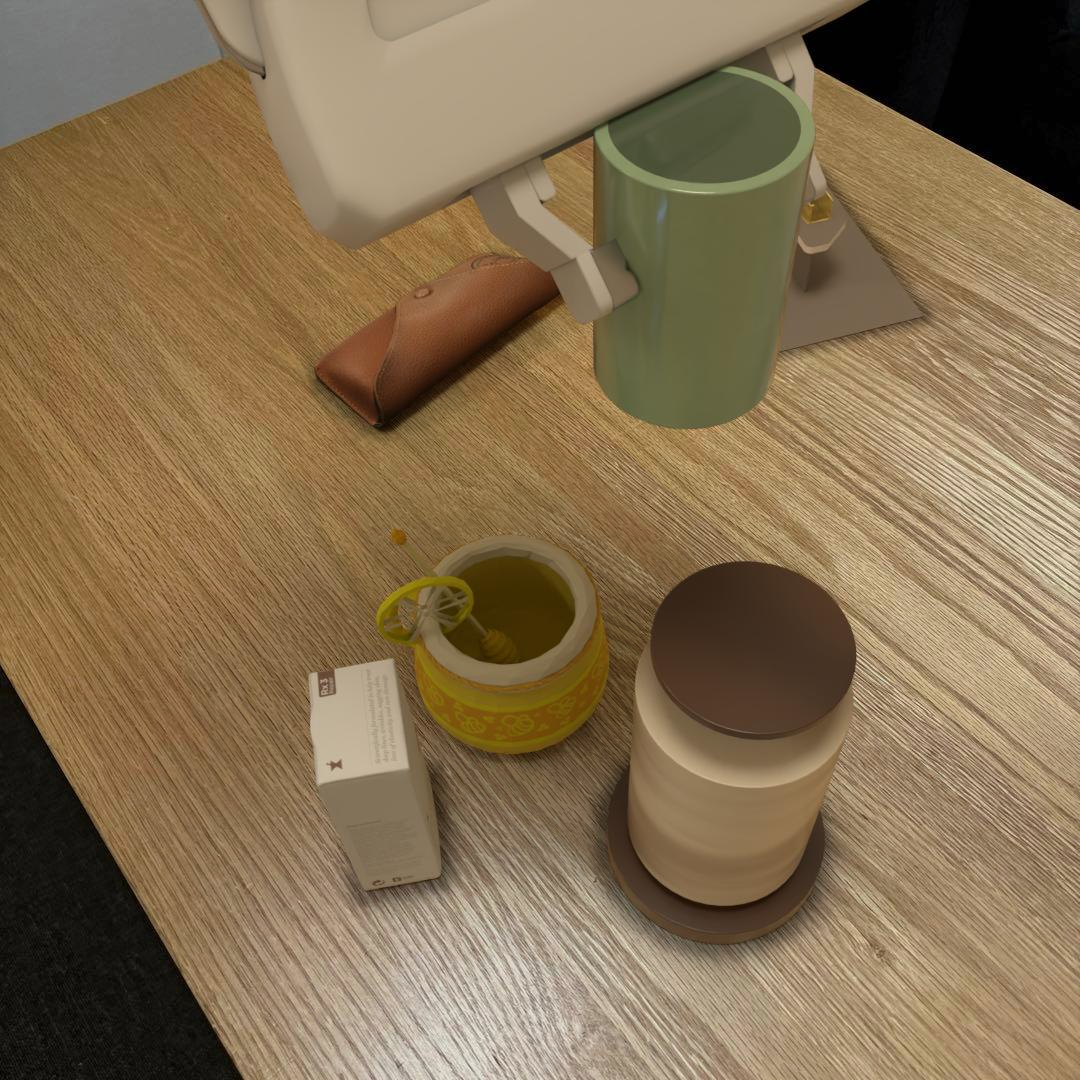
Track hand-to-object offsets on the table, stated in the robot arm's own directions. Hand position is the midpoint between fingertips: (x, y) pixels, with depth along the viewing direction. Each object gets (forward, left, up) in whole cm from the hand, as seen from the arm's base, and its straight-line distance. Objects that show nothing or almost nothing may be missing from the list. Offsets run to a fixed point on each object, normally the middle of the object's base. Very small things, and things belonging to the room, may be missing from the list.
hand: (707, 258), depth 35 cm
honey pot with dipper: (+5, +10, -36) cm, 37 cm away
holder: (-2, -3, -36) cm, 36 cm away
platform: (+44, -4, -36) cm, 57 cm away
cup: (0, 0, -5) cm, 5 cm away
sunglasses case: (+32, +20, -36) cm, 52 cm away
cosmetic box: (-5, +13, -36) cm, 38 cm away
